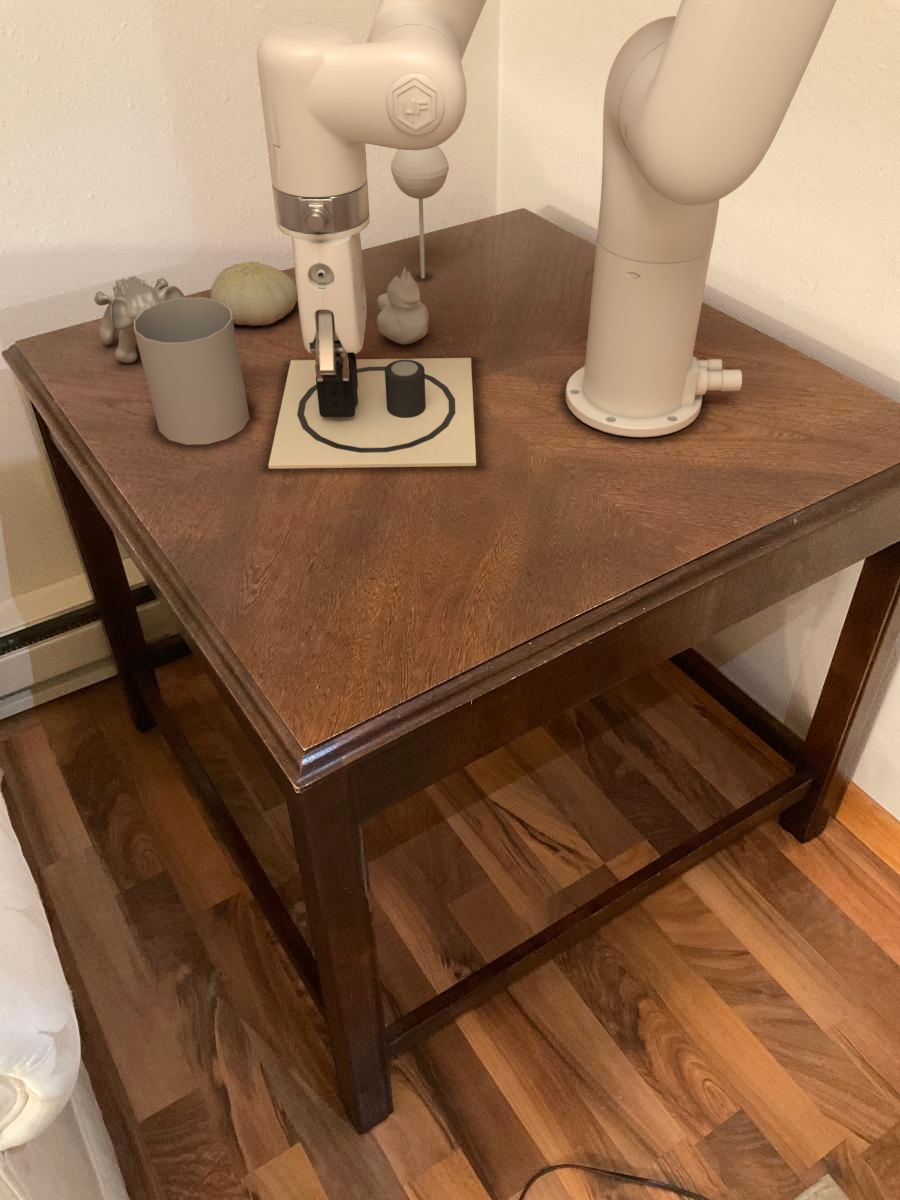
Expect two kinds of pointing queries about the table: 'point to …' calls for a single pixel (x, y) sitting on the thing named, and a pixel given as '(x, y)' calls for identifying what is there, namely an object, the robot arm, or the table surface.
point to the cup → (192, 369)
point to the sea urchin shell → (255, 293)
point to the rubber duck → (402, 311)
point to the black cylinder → (405, 388)
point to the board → (378, 421)
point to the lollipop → (420, 179)
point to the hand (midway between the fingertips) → (339, 400)
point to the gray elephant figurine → (130, 311)
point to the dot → (351, 372)
